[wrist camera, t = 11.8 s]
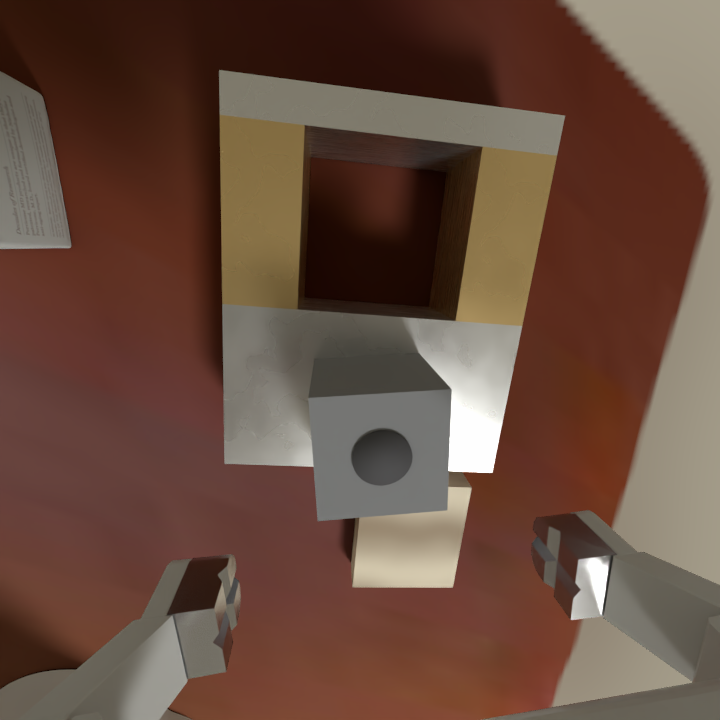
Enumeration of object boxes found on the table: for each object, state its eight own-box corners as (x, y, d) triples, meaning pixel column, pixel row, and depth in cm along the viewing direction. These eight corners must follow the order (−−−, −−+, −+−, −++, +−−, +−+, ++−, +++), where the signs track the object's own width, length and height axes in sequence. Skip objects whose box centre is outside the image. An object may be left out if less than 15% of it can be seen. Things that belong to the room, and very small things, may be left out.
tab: (444, 564, 28) (452, 587, 26) (350, 563, 27) (352, 587, 25) (461, 470, 26) (471, 487, 24) (360, 466, 25) (362, 484, 23)
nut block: (418, 446, 19) (448, 512, 14) (321, 453, 19) (317, 522, 14) (418, 352, 18) (452, 390, 13) (314, 358, 17) (308, 399, 13)
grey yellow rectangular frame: (460, 430, 25) (492, 472, 20) (246, 420, 23) (224, 463, 19) (509, 148, 20) (564, 115, 15) (247, 117, 19) (219, 69, 14)
